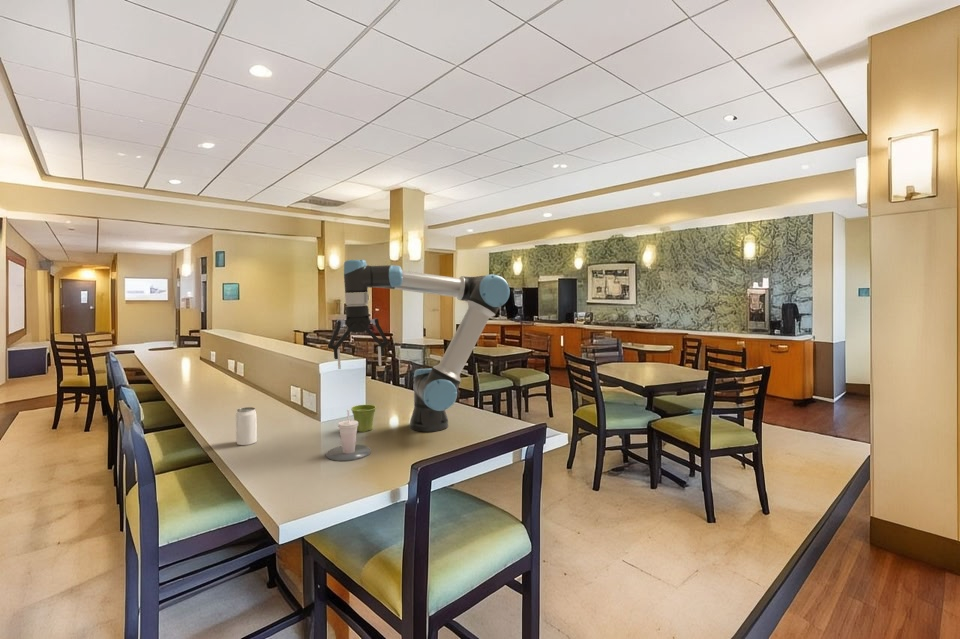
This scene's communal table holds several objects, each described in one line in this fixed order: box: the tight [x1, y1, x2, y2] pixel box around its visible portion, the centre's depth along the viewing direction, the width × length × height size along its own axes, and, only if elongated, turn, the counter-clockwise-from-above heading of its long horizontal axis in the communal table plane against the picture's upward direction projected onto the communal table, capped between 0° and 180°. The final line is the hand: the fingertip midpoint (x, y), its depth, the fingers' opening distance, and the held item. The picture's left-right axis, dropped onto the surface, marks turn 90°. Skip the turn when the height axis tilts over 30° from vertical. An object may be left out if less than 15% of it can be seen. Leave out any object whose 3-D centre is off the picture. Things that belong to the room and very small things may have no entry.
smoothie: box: [337, 409, 358, 454], centre depth 152 cm, size 6×6×14 cm
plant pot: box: [350, 404, 377, 433], centre depth 178 cm, size 9×9×9 cm
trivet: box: [326, 444, 372, 462], centre depth 152 cm, size 14×14×1 cm
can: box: [235, 406, 258, 446], centre depth 163 cm, size 6×6×12 cm
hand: (360, 366), depth 160 cm, fingers open, 13 cm apart
